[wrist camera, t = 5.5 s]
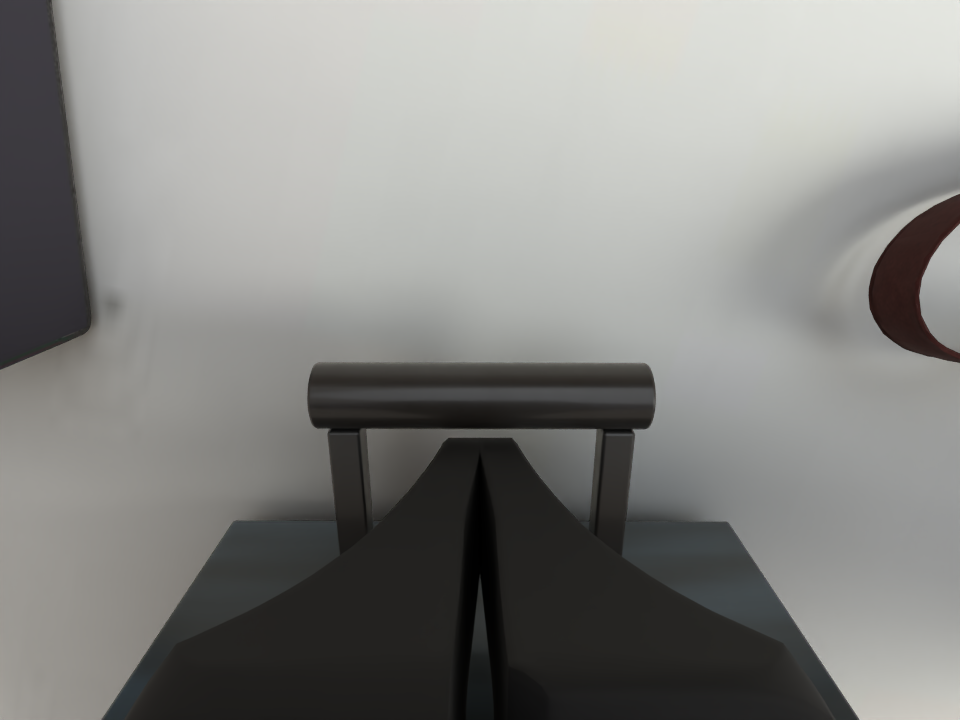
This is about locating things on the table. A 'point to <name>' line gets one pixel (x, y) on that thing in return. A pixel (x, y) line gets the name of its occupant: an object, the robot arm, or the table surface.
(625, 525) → the drawer
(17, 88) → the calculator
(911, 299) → the watch
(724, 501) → the table surface
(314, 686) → the robot arm
